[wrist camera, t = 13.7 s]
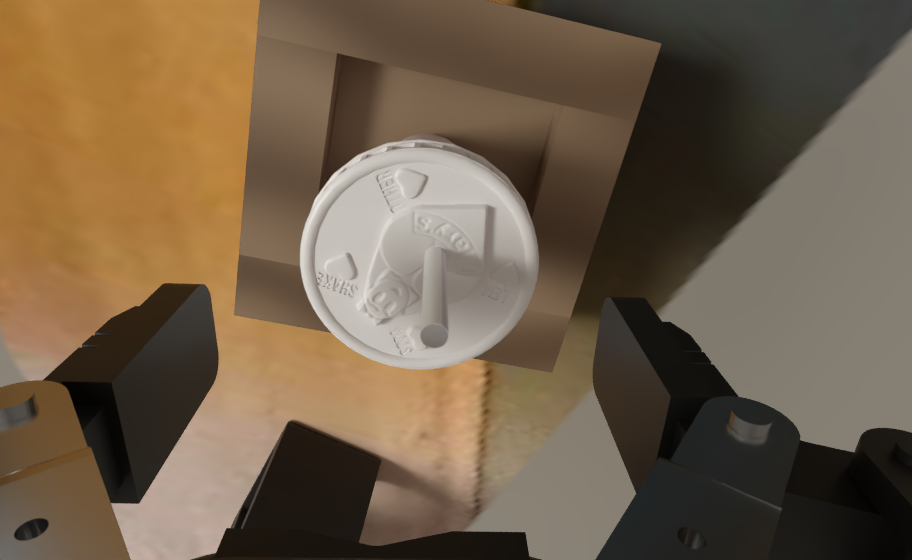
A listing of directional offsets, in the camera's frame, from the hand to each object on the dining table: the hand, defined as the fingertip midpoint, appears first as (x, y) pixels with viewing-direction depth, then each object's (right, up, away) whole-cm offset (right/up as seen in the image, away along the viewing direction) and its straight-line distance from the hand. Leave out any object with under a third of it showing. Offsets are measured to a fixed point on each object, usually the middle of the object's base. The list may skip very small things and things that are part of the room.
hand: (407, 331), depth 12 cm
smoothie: (0, +5, +12) cm, 14 cm away
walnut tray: (0, +7, +17) cm, 18 cm away
